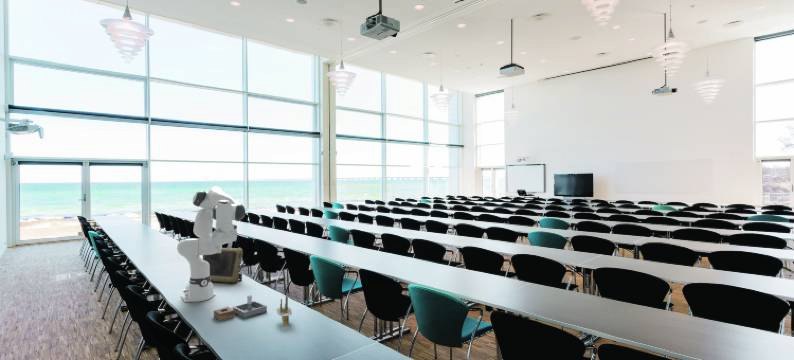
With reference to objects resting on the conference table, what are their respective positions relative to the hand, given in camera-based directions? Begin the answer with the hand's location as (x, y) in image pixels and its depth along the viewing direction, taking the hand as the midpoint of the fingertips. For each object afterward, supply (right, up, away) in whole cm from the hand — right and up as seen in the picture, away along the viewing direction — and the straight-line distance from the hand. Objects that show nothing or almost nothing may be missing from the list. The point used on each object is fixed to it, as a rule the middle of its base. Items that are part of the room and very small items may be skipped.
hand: (224, 251), depth 221 cm
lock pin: (+16, -34, -2) cm, 38 cm away
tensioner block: (+4, -35, -10) cm, 37 cm away
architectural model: (+41, -36, -18) cm, 57 cm away
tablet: (-32, -34, +63) cm, 78 cm away
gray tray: (+16, -35, -2) cm, 39 cm away
